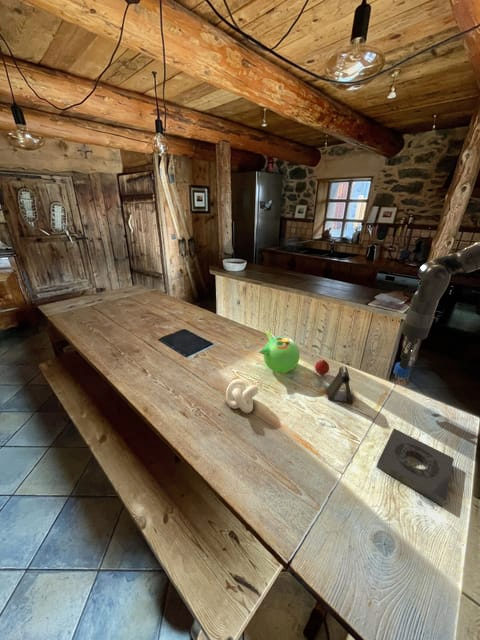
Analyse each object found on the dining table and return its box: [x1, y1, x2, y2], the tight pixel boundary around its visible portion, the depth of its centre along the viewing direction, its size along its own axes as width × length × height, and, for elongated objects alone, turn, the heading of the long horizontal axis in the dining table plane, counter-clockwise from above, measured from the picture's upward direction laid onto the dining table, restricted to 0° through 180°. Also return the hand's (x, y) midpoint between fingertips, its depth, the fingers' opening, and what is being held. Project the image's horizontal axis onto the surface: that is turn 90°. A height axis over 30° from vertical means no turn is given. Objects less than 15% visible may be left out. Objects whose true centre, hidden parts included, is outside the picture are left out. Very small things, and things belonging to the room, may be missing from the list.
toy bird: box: [258, 330, 301, 373], centre depth 117 cm, size 18×17×15 cm
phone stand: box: [326, 366, 354, 404], centre depth 101 cm, size 9×6×12 cm, turn 78°
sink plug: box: [392, 361, 412, 379], centre depth 96 cm, size 5×5×8 cm
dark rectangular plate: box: [375, 428, 454, 507], centre depth 77 cm, size 16×16×2 cm
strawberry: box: [314, 359, 330, 376], centre depth 114 cm, size 6×6×8 cm
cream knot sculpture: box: [225, 378, 259, 414], centre depth 97 cm, size 11×12×9 cm
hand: (403, 365), depth 96 cm, fingers closed on sink plug
